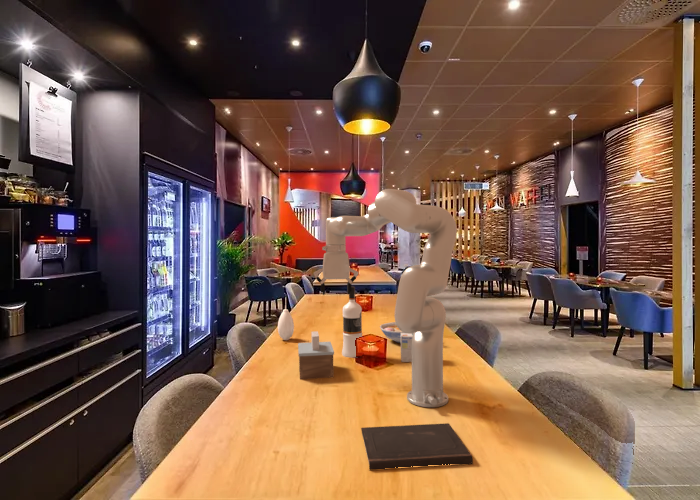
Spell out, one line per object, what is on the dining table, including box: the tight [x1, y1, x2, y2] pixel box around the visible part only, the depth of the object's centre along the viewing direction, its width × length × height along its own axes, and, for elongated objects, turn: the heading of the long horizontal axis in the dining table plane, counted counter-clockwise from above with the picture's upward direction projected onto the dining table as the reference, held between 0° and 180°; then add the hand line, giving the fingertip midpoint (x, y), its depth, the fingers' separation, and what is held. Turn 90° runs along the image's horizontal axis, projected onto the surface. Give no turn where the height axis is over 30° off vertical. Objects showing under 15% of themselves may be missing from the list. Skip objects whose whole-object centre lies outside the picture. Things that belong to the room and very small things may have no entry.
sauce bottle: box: [277, 304, 295, 341], centre depth 199 cm, size 8×8×18 cm
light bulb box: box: [400, 333, 413, 363], centre depth 163 cm, size 11×7×11 cm, turn 84°
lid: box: [297, 330, 335, 357], centre depth 147 cm, size 15×13×7 cm
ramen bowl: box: [379, 321, 404, 344], centre depth 193 cm, size 25×23×8 cm
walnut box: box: [298, 355, 335, 380], centre depth 147 cm, size 14×12×9 cm
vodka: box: [341, 286, 363, 358], centre depth 169 cm, size 9×9×30 cm
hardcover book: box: [360, 422, 474, 470], centre depth 94 cm, size 16×23×2 cm
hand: (336, 293), depth 152 cm, fingers open, 9 cm apart
